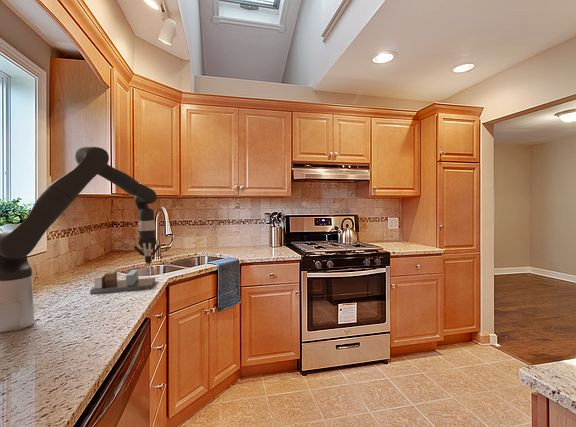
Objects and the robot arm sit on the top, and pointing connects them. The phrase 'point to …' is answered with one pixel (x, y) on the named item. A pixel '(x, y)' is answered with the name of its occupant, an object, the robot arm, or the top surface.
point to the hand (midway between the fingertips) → (148, 263)
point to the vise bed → (120, 285)
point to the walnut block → (111, 278)
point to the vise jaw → (131, 277)
